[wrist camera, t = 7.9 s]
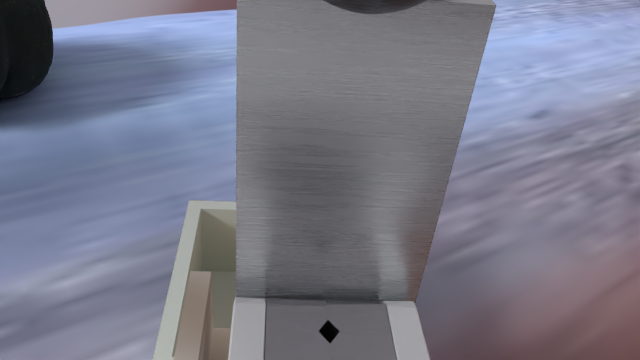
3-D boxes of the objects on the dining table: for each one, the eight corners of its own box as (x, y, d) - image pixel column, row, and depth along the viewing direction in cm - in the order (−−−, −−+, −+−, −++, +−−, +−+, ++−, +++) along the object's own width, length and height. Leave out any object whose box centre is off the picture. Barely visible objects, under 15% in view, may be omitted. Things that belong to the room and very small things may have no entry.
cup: (403, 445, 21) (426, 374, 19) (160, 447, 21) (149, 372, 18) (372, 275, 29) (385, 207, 26) (193, 270, 28) (188, 200, 25)
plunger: (392, 536, 13) (684, -251, 5) (201, 540, 13) (137, -320, 4) (376, 424, 15) (550, -238, 7) (214, 424, 15) (189, -281, 6)
